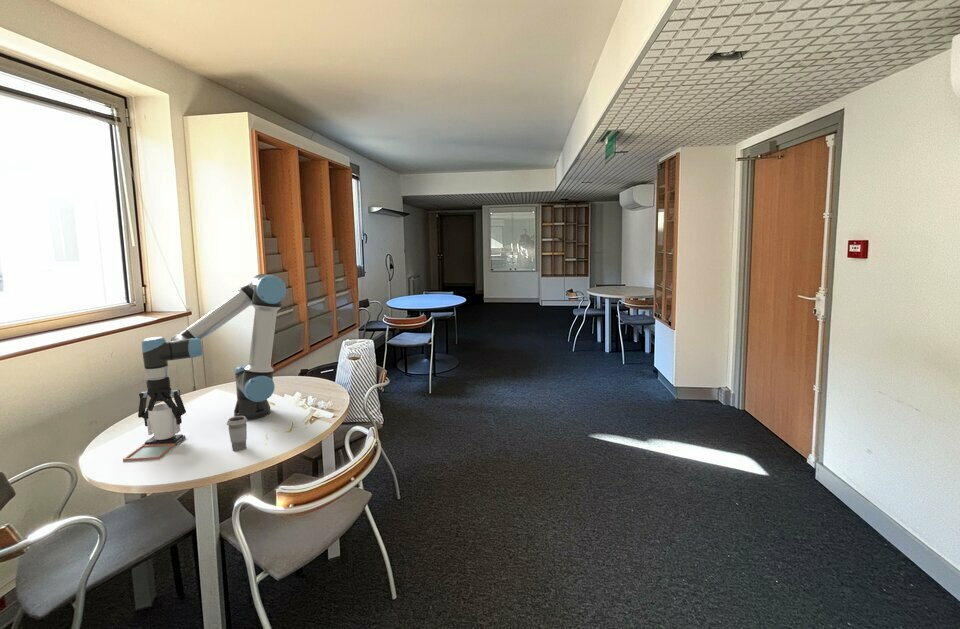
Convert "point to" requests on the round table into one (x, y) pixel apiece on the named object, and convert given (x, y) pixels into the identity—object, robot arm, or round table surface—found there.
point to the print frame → (149, 452)
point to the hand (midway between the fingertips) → (164, 432)
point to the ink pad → (165, 440)
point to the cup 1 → (162, 422)
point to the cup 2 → (238, 432)
